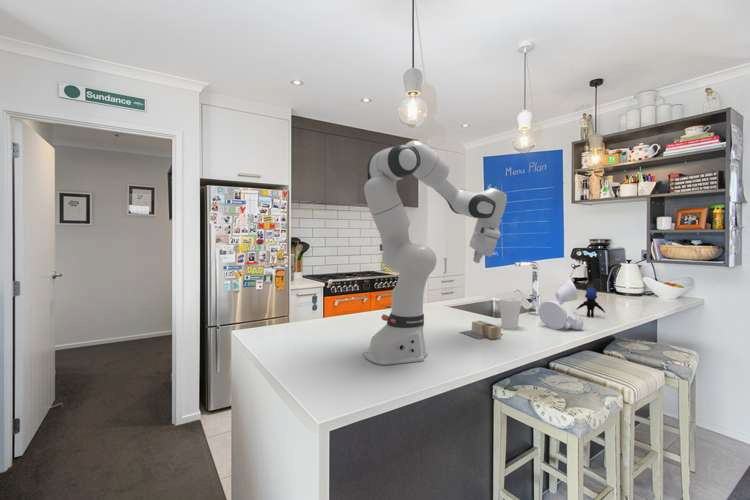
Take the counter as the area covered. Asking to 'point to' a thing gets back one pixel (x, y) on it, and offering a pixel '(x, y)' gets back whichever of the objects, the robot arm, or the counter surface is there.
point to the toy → (591, 302)
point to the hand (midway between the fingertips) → (475, 262)
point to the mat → (473, 334)
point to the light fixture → (561, 309)
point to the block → (486, 329)
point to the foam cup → (509, 312)
